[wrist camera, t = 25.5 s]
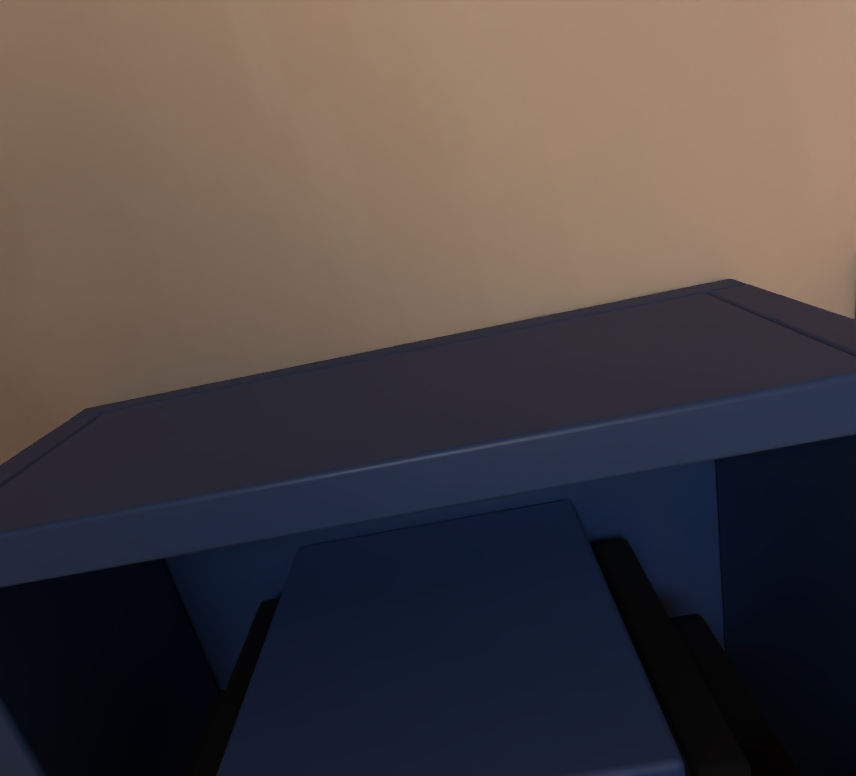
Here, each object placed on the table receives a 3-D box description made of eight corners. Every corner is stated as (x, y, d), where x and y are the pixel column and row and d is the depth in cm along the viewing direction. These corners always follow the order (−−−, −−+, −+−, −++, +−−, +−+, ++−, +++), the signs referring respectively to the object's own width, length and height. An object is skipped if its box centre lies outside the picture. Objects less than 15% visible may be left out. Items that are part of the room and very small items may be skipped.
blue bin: (270, 836, 13) (202, 1112, 9) (84, 407, 9) (-150, 561, 6) (750, 769, 12) (896, 1040, 8) (731, 277, 9) (964, 352, 5)
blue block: (362, 743, 11) (321, 1092, 7) (296, 545, 10) (189, 836, 5) (601, 707, 11) (712, 1052, 7) (570, 496, 9) (687, 765, 5)
